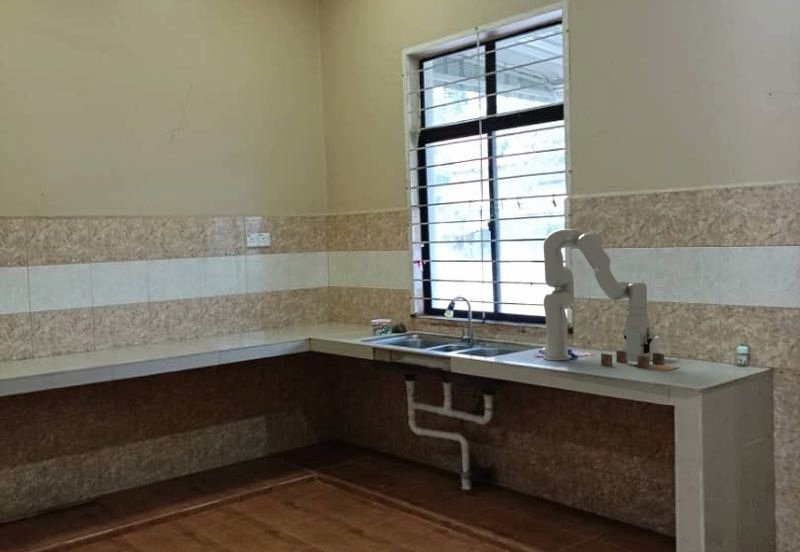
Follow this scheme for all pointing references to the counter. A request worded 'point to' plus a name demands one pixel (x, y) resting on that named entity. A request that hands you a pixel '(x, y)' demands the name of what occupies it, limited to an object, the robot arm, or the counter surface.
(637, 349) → the supplement box
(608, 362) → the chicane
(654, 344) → the white cup
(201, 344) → the counter surface
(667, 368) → the mat
